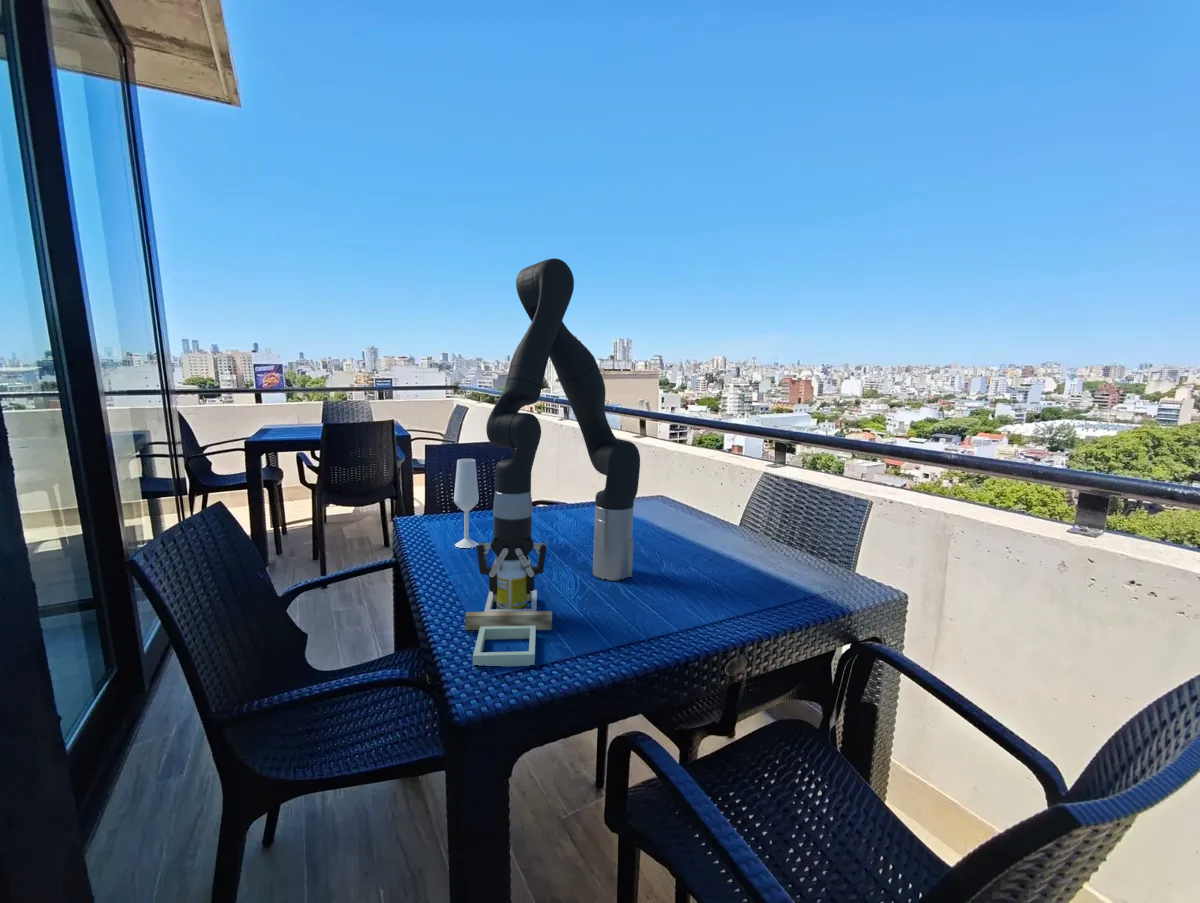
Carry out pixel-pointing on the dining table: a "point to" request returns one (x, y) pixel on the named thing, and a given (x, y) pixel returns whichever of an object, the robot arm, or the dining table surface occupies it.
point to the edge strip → (509, 619)
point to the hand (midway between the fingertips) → (511, 592)
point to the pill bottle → (511, 585)
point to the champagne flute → (466, 495)
